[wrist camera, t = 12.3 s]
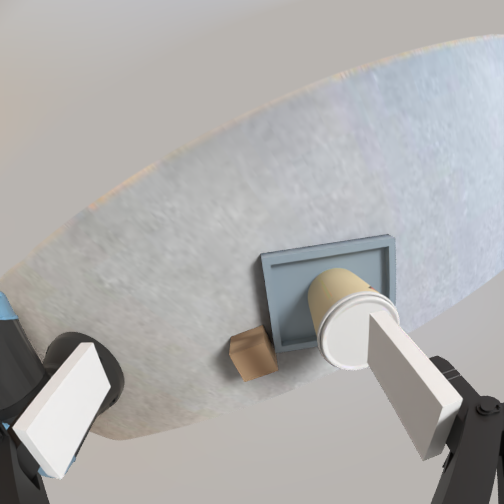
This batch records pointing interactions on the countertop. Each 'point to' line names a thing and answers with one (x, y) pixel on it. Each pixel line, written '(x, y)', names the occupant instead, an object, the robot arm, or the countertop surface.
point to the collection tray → (307, 269)
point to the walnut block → (253, 354)
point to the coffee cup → (345, 316)
